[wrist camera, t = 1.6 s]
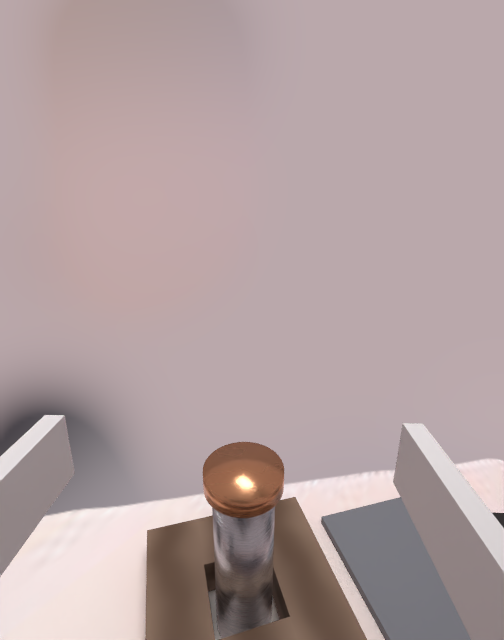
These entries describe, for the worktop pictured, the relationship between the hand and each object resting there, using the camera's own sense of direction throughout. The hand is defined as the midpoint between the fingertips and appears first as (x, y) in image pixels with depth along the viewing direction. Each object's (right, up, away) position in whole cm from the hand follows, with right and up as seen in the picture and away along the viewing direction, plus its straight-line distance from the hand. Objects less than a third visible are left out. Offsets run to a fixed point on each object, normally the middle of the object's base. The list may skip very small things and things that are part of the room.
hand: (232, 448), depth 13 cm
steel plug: (0, -21, +17) cm, 27 cm away
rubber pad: (+17, -20, +21) cm, 34 cm away
